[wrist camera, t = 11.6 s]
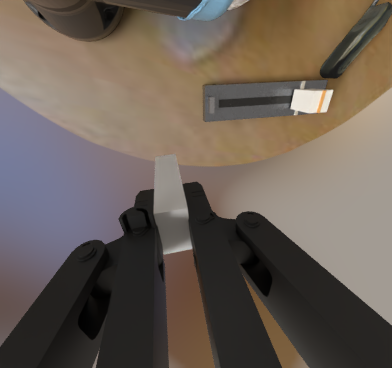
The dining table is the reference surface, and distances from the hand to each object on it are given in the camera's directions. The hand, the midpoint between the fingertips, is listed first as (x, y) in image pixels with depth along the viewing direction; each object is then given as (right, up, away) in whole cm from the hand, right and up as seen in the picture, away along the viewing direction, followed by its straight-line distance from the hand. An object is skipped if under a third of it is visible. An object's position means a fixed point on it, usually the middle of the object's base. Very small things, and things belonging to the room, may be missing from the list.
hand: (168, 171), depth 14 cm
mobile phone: (+34, +30, +25) cm, 52 cm away
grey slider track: (+18, +18, +27) cm, 37 cm away
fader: (+26, +18, +26) cm, 41 cm away
